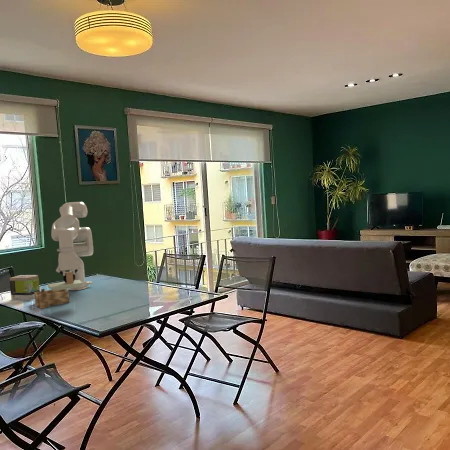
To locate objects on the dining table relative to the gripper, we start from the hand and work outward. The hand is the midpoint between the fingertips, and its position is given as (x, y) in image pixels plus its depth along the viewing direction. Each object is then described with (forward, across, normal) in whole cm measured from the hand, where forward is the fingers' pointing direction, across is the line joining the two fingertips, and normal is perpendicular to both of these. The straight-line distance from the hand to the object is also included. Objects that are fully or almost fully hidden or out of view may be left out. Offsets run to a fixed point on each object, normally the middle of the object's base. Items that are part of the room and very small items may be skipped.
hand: (69, 281), depth 259 cm
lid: (+3, -2, 0) cm, 4 cm away
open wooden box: (+15, -9, +15) cm, 23 cm away
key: (+7, -14, +4) cm, 16 cm away
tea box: (+15, -22, +42) cm, 50 cm away
